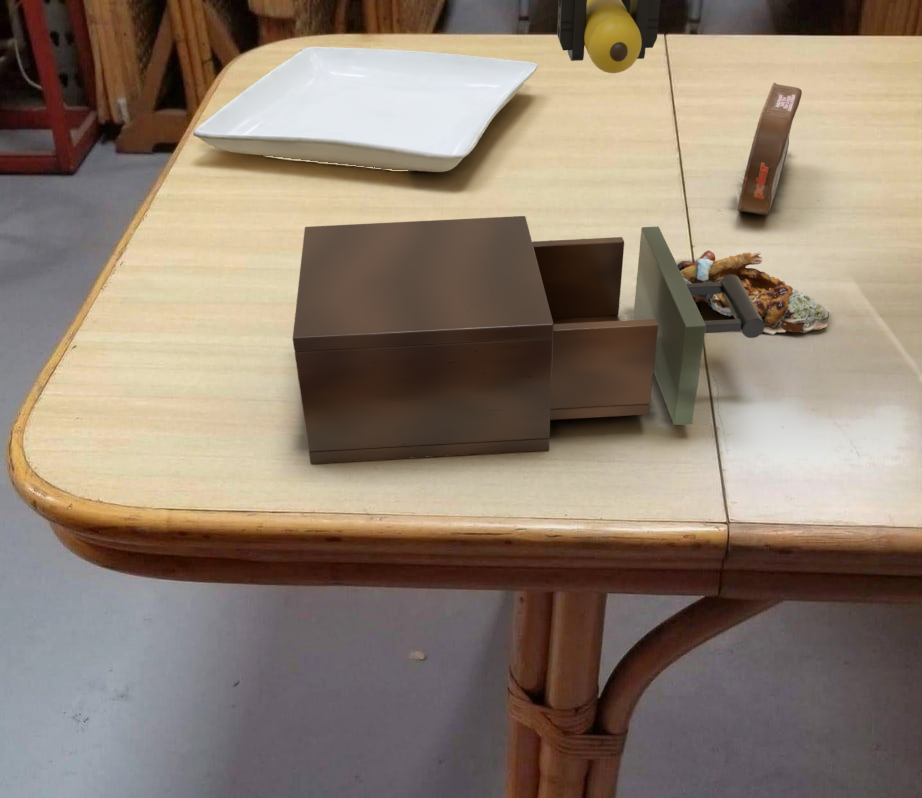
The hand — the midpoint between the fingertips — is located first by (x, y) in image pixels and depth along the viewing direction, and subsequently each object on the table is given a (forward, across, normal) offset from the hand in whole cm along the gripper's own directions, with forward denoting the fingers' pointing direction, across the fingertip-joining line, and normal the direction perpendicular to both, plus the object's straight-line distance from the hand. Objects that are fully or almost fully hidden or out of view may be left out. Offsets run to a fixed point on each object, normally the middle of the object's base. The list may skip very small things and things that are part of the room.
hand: (605, 54), depth 63 cm
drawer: (+19, +1, -5) cm, 19 cm away
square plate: (+20, -15, +45) cm, 51 cm away
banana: (0, 0, 0) cm, 0 cm away
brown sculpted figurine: (+20, +12, +4) cm, 23 cm away
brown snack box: (+19, +19, +24) cm, 36 cm away
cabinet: (+20, -12, -5) cm, 23 cm away
